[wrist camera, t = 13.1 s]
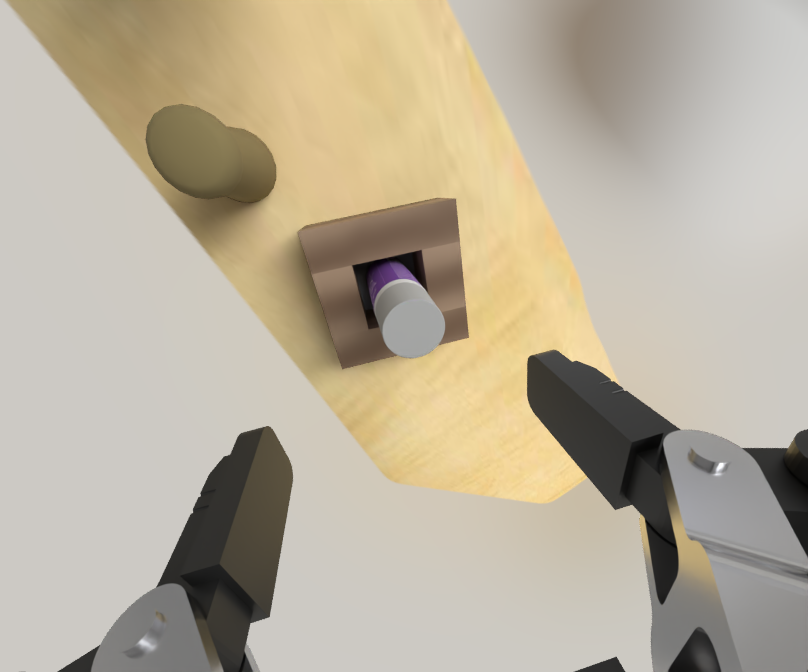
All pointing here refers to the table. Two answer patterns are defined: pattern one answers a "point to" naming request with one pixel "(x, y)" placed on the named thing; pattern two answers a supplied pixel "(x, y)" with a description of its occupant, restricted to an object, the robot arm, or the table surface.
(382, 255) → the well block
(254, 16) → the table surface
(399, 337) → the container
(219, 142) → the cork
